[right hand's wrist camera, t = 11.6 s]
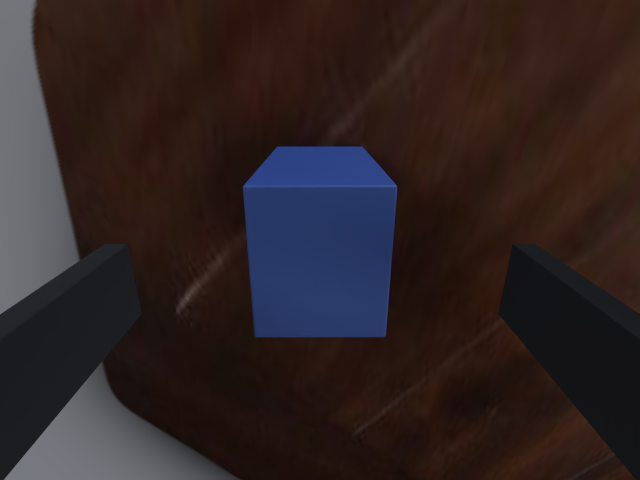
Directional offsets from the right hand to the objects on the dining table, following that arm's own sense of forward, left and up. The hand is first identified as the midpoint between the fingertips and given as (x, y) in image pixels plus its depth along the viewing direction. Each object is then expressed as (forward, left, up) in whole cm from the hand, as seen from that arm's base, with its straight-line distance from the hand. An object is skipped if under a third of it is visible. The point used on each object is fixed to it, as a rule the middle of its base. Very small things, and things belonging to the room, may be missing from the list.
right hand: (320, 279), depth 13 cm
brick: (0, 0, -12) cm, 12 cm away
